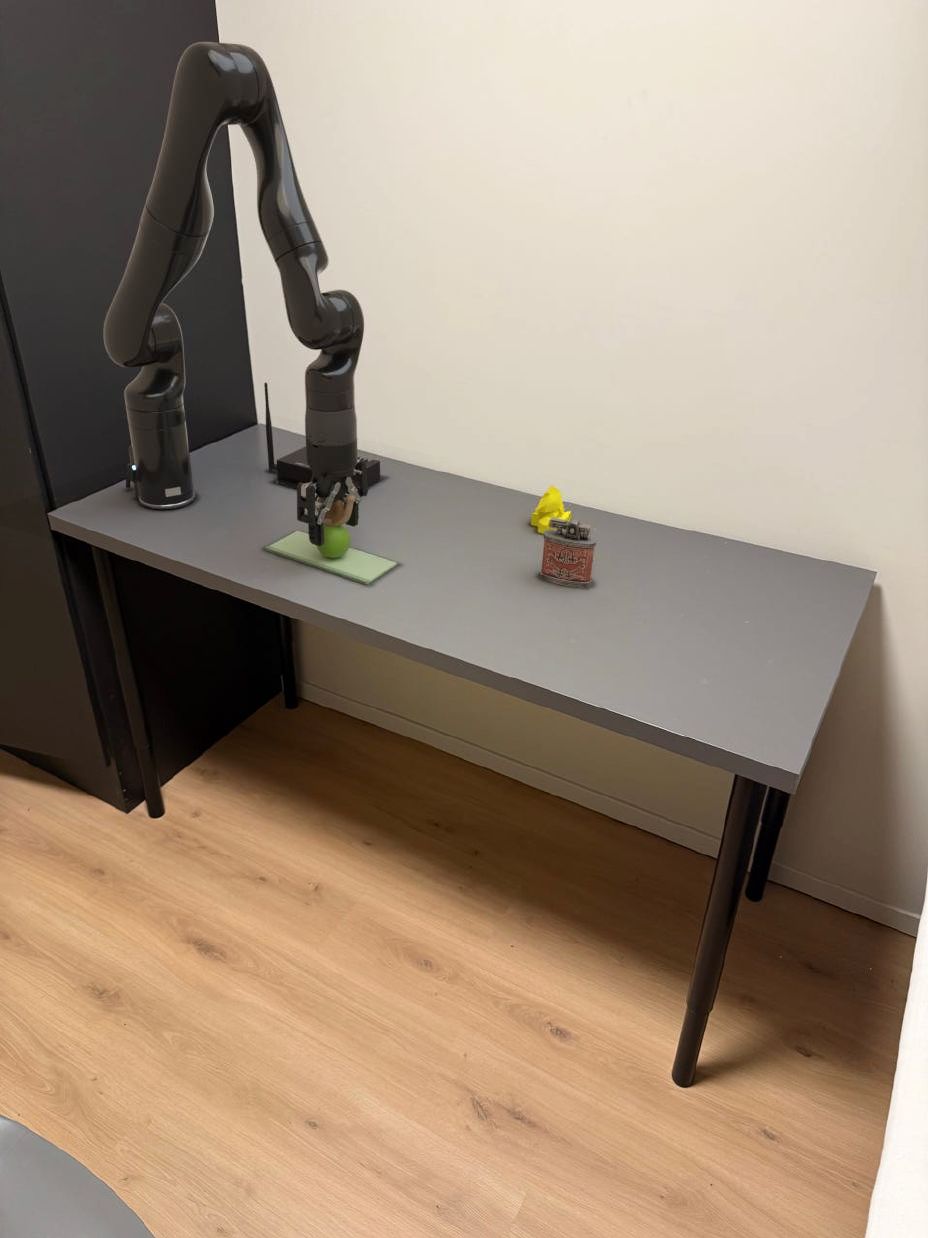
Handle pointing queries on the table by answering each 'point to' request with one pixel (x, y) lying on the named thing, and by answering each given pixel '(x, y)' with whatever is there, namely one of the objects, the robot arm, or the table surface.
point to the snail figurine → (336, 527)
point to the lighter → (568, 553)
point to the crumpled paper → (549, 510)
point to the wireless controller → (303, 461)
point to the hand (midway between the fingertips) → (334, 534)
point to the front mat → (332, 559)
